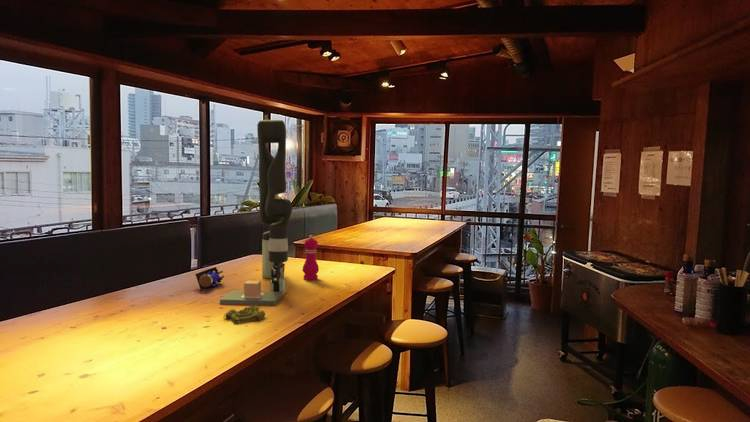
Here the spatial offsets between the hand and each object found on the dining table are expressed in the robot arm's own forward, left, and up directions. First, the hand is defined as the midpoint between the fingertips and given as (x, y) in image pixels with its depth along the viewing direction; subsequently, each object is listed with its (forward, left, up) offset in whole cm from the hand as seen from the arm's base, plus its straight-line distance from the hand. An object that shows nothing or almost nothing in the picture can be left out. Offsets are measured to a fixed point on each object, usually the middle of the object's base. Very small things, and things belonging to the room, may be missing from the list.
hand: (277, 291), depth 196 cm
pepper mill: (-26, +9, -1) cm, 28 cm away
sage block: (0, 0, 0) cm, 0 cm away
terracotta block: (+12, -7, +1) cm, 14 cm away
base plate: (+12, -7, 0) cm, 14 cm away
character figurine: (-6, -29, -1) cm, 30 cm away
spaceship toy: (+33, -3, -1) cm, 33 cm away
